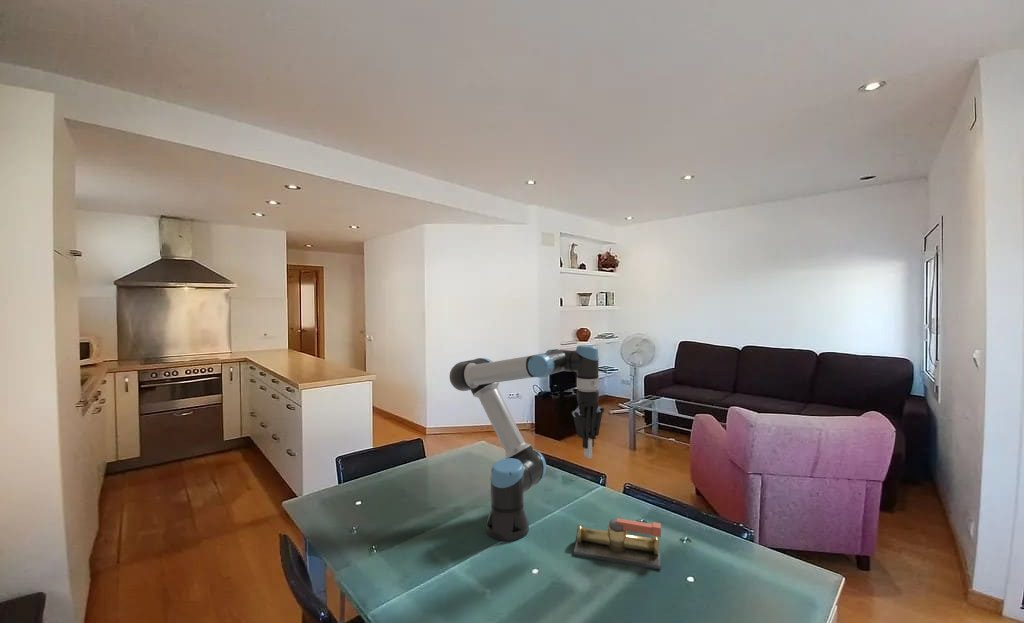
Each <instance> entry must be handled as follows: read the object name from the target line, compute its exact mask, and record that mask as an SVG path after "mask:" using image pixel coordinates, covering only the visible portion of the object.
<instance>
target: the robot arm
mask: <svg viewBox="0 0 1024 623" xmlns="http://www.w3.org/2000/svg"><path fill="white" fill-rule="evenodd" d="M599 361H600V358H599V348H598V346H596V345H591V344H580V345H577V346H576V349H575V350H572V349H571V350H567V349H558V348H555V349H547V350H546V352H545V353H538V354H532V355H526V356H520V357H514V358H510V359H501V360H496V361H492V360H491V359H489V358H485V357H481V358H479V357H477V358H475V359H470V360H465V361H460V362H457V363H456V364H455V365H454V366H453V367H452V368H451V369H450V372H449V381H450V384H451V386H452V387H453V388H454V389H456V390H458V391H460V392H461V391H462V392H467V391H470V392H471V394H472V396H473V397H474V398H477V399H479V402H480V403H481V405H482V407H483V409H484V412H485V413H486V415H487V417H488V419H489V421H490V423H491V425H492V427H493V430H494V432H495V434H496V436H497V438H498V439H499V442H500V444H501V446H502V449H503V450H504V452H505V456H504V459H503V458H501V459H499V460H498V461H496V462H495V463H494V464H493V465H492V466H491V468H490V477H489V480H490V511H489V514H488V517H487V520H486V527H485V529H486V533H487V534H488V536H489V537H491V538H492V539H495V540H498V541H504V542H505V541H506V542H508V541H509V542H510V541H516V540H520V539H522V538H524V537H525V536H526V535H527V534H528V533H529V529H530V527H529V525H530V524H529V519H528V515H527V513H526V510H525V507H524V506H525V505H524V504H525V503H524V502H525V500H524V497H525V496H524V494H525V492H527V491H528V490H530V489H531V488H532V487H533V486H535V485H537V484H538V483H539V482H541V480H542V479H543V478H544V477H545V475H546V471H547V462H546V459H545V457H544V455H543V454H542V453H541V452H540V451H537V450H535V449H534V448H533V446H532V444H531V443H527V442H526V441H525V439H524V437H523V435H522V433H521V431H520V430H519V427H518V425H517V424H516V422H515V420H514V418H513V416H512V414H511V412H510V410H509V408H508V406H507V404H506V401H505V400H504V398H503V397H502V396H503V395H502V394H501V392H500V390H499V384H500V383H502V382H510V381H516V380H517V381H518V380H524V379H525V380H526V379H531V378H547V377H549V376H550V375H553V374H558V373H560V372H573V373H576V389H577V390H576V400H577V405H576V409H575V410H572V411H571V413H570V414H571V415H572V418H573V421H574V425H575V430H576V435H577V438H580V439H582V448H583V456H584V457H585V458H587V459H592V458H593V448H594V444H595V443H594V442H595V441H594V440H596V438H597V437H598V436H599V435H600V434H599V433H600V428H601V421H602V416H603V413H604V412H605V408H603V407H602V406H599V405H600V404H599V403H598V402H599V401H600V397H599V396H600V394H599V393H600V391H599V386H600V385H599V382H600V381H599V363H600V362H599Z"/></svg>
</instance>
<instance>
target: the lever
mask: <svg viewBox="0 0 1024 623" xmlns="http://www.w3.org/2000/svg"><path fill="white" fill-rule="evenodd" d="M661 524H662V523H660V522H654V521H652V523H648V522H643V521H636V520H631V519H623V518H619V517H617V518H613V519H610V520H609V523H608V525H609V527H610V528H611V529H612V530H614V531H623V530H626V531H627V532H632V533H636V534H643V535H648V536H652V537H654V536H657V537H658V538H661V536H662V525H661Z"/></svg>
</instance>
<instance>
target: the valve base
mask: <svg viewBox="0 0 1024 623" xmlns="http://www.w3.org/2000/svg"><path fill="white" fill-rule="evenodd" d="M627 532H628V531H626V530H623V531H614V530H612V529H611V528H610V527H609V524H608V525H607V530H600V529H595V528H589V527H588V528H587V527H583V525H580V524H579V525H577V532H576V542H575V545H574V550H573V555H574V556H577V557H583V558H589V559H594V560H601V561H604V562H605V561H607V562H613V563H618V564H625V565H629V566H636V567H640V568H647V569H652V570H653V569H655V570H659V571H660V570H662V568H661V566H662V564H661V563H662V562H661V554H660V541H659V537H657V536H653V537H649V536H644V535H643V536H642V535H634V534H629V533H627Z"/></svg>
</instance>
